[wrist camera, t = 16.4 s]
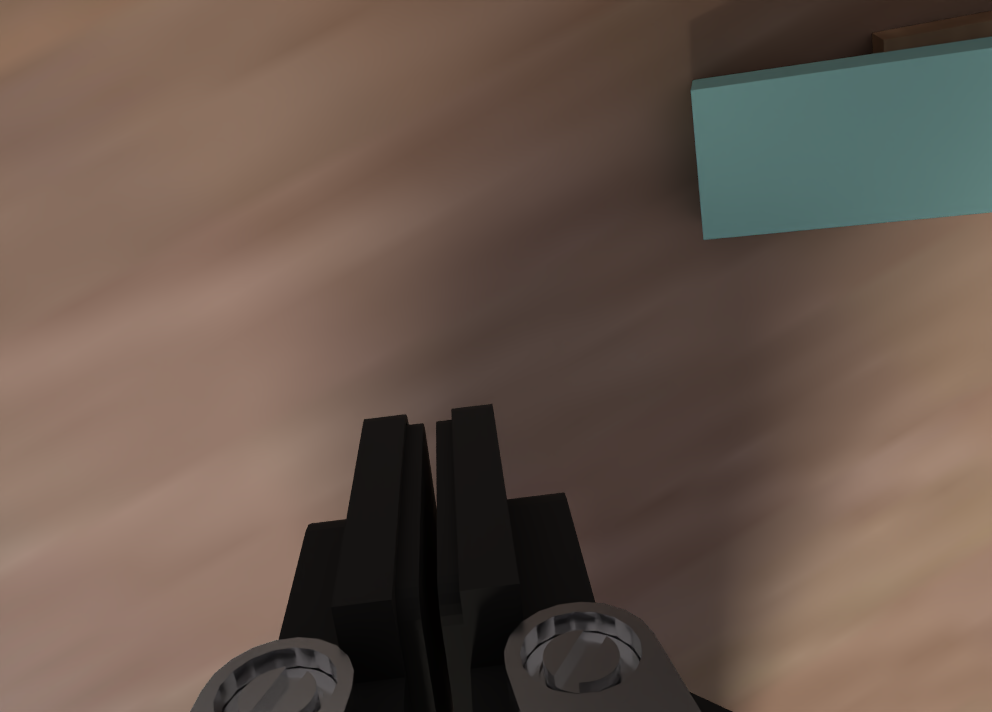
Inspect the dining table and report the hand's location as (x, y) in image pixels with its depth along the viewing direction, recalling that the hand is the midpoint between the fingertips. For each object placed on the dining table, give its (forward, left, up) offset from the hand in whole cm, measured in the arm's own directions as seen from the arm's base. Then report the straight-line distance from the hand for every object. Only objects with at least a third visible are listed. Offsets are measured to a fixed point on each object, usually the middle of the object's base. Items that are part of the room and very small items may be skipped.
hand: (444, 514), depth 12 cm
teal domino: (-5, -7, -20) cm, 22 cm away
